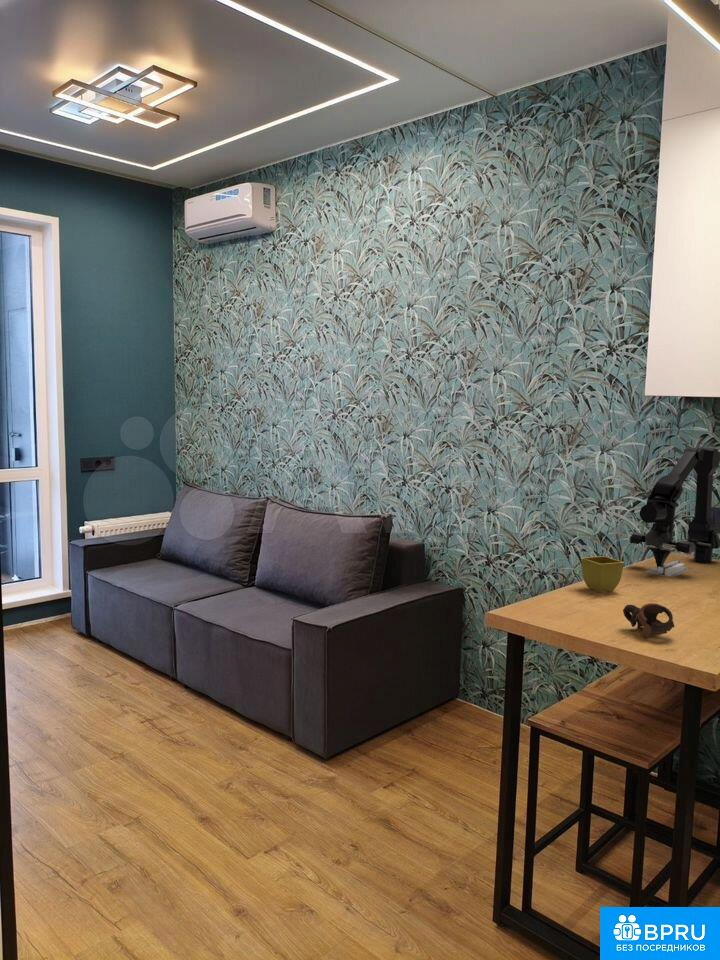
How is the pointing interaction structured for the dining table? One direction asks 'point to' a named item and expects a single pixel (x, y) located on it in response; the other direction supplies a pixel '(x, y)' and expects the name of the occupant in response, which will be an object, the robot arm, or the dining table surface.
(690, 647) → the dining table surface
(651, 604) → the dark brown openwork sculpture
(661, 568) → the tong arm
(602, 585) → the flower pot
